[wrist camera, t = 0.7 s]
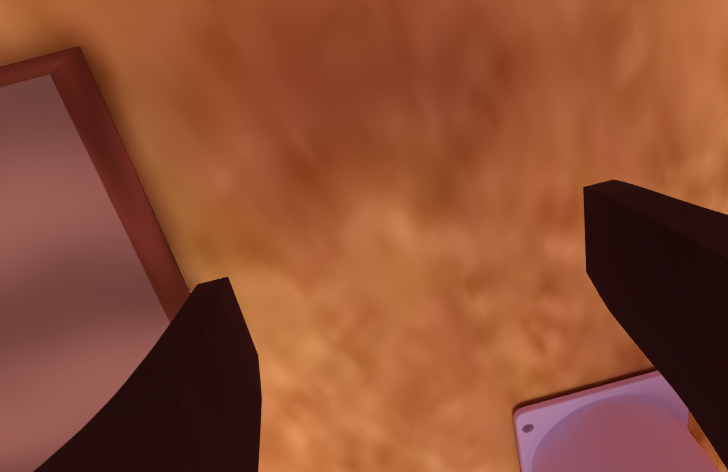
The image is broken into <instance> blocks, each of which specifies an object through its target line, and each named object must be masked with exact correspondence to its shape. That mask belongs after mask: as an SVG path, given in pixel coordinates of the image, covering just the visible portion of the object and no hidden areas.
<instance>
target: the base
mask: <svg viewBox="0 0 728 472" xmlns="http://www.w3.org/2000/svg"><path fill="white" fill-rule="evenodd" d="M189 295H190V292H189V290H188V288H187V286H186V284H185V281H184V279H183V277H182V275H181V272H180V270H179V268H178V266H177V264H176V261H175V259H174V257H173V255H172V252H171V250H170V248H169V246H168V244H167V241H166V239H165V237H164V235H163V232H162V230H161V228H160V226H159V224H158V221H157V219H156V217H155V215H154V212H153V210H152V208H151V206H150V203H149V201H148V199H147V197H146V195H145V192H144V190H143V188H142V186H141V183H140V181H139V179H138V177H137V175H136V172H135V170H134V168H133V166H132V163H131V161H130V159H129V157H128V155H127V152H126V150H125V148H124V146H123V143H122V141H121V139H120V137H119V135H118V132H117V130H116V128H115V126H114V123H113V121H112V119H111V117H110V115H109V112H108V110H107V108H106V106H105V103H104V101H103V99H102V97H101V95H100V92H99V90H98V88H97V86H96V83H95V81H94V79H93V77H92V75H91V72H90V70H89V68H88V66H87V63H86V61H85V59H84V57H83V54H82V52H81V50H80V48H79V47H76V48H72V49H68V50H64V51H61V52H57V53H53V54H49V55H45V56H42V57H38V58H34V59H30V60H26V61H23V62H19V63H15V64H11V65H7V66H4V67H0V472H33V471H35V470H36V469H37V468H38V467H39V466H41V465H42V464H43V463H44V462H45V461H46V460H47V459H48V458H50V457H51V456H52V455H53V454H54V453H55V452H56V451H57V450H59V449H60V448H61V447H62V446H63V445H64V444H65V443H66V442H67V441H69V440H70V439H71V438H72V437H73V436H74V435H75V434H76V433H78V432H79V431H80V430H81V429H82V428H83V427H84V426H85V425H86V424H87V423H88V422H89V421H90V420H91V419H92V418H93V417H94V416H95V415H96V414H97V413H98V412H99V411H100V410H101V409H102V408H103V406H104V405H105V404H106V403H107V402H108V401H109V400H110V399H111V398H112V397H113V396H114V395H115V393H116V392H117V391H118V390H119V389H120V388H121V387H122V385H123V384H124V383H125V382H126V381H127V379H128V378H129V377H130V376H131V374H132V373H133V372H134V371H135V369H136V368H137V367H138V366H139V364H140V363H141V362H142V361H143V359H144V358H145V357H146V356H147V354H148V353H149V352H150V351H151V349H152V348H153V347H154V345H155V344H156V343H157V341H158V340H159V338H160V337H161V336H162V334H163V333H164V331H165V330H166V329H167V327H168V326H169V324H170V323H171V322H172V320H173V319H174V317H175V316H176V314H177V313H178V311H179V310H180V309H181V307H182V306H183V304H184V303H185V301H186V300H187V298H188V297H189Z"/></svg>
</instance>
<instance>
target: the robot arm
mask: <svg viewBox="0 0 728 472" xmlns="http://www.w3.org/2000/svg"><path fill="white" fill-rule="evenodd" d="M583 189H584V218H585V247H586V272H587V274H588V276H589V277H590V279H591V281H592V283H593V284H594V286H595V288H596V290H597V291H598V293H599V295H600V296H601V298H602V300H603V301H604V303H605V305H606V306H607V308H608V309H609V311H610V312H611V313H612V315H613V316H614V317H615V319H616V320H617V321H618V322H619V324H620V325H621V326H622V327H623V328H624V330H625V331H626V332H627V333H628V335H629V336H630V337H631V338H632V340H633V341H634V342H635V343H636V344H637V346H638V347H639V348H640V349H641V351H642V352H643V353H644V354H645V355H646V357H647V358H648V359H649V360H650V361H651V363H652V364H653V365H654V366H655V368H656V369H657V370H658V371H654V372H650V373H647V374H643V375H639V376H635V377H632V378H628V379H624V380H621V381H617V382H613V383H610V384H606V385H602V386H599V387H595V388H591V389H587V390H584V391H580V392H576V393H573V394H569V395H565V396H562V397H558V398H554V399H551V400H547V401H543V402H540V403H536V404H532V405H528V406H525V407H522V408H519V409H518V410H517V411H516V412H515V413H514V417H513V419H514V426H515V433H516V440H517V447H518V454H519V461H520V468H521V472H720V471H719V470H718V469H717V467H716V466H715V465H714V463H713V462H712V461H711V459H710V458H709V457H708V456H707V454H706V453H705V452H704V450H703V449H702V448H701V446H700V445H699V444H698V443H697V441H696V440H695V439H694V437H693V436H692V435H691V433H690V432H689V431H688V413H689V411H690V412H691V414H692V415H693V417H694V418H695V420H696V421H697V423H698V424H699V426H700V427H701V429H702V430H703V432H704V434H705V435H706V437H707V438H708V440H709V441H710V443H711V444H712V446H713V447H714V449H715V450H716V452H717V454H718V455H719V457H720V458H721V460H722V462H723V463H724V465H725V467H726V468H727V470H728V215H726V214H723V213H720V212H716V211H713V210H710V209H707V208H703V207H700V206H697V205H694V204H691V203H688V202H685V201H682V200H679V199H676V198H673V197H670V196H667V195H664V194H661V193H658V192H655V191H652V190H648V189H645V188H642V187H639V186H636V185H633V184H629V183H626V182H622V181H617V180H610V181H606V182H602V183H598V184H594V185H590V186H586V187H583ZM261 406H262V396H261V382H260V371H259V360H258V354H257V351H256V349H255V346H254V343H253V341H252V338H251V336H250V333H249V330H248V328H247V325H246V323H245V320H244V317H243V315H242V312H241V310H240V307H239V304H238V302H237V299H236V296H235V294H234V291H233V289H232V286H231V283H230V281H229V278H228V277H225V278H221V279H217V280H213V281H209V282H205V283H201V284H198V285H197V286H196V287H195V289H194V290H193V291H192V293H191V294H190V295H189V297H188V298H187V300H186V301H185V303H184V304H183V306H182V307H181V309H180V310H179V311H178V313H177V314H176V316H175V317H174V319H173V320H172V322H171V323H170V324H169V326H168V327H167V329H166V330H165V331H164V333H163V334H162V336H161V337H160V338H159V340H158V341H157V343H156V344H155V345H154V347H153V348H152V349H151V351H150V352H149V353H148V354H147V356H146V357H145V358H144V359H143V361H142V362H141V363H140V364H139V366H138V367H137V368H136V369H135V371H134V372H133V373H132V374H131V376H130V377H129V378H128V379H127V381H126V382H125V383H124V384H123V385H122V387H121V388H120V389H119V390H118V391H117V392H116V393H115V395H114V396H113V397H112V398H111V399H110V400H109V401H108V402H107V403H106V404H105V405H104V406H103V408H102V409H101V410H100V411H99V412H98V413H97V414H96V415H95V416H94V417H93V418H92V419H91V420H90V421H89V422H88V423H87V424H86V425H85V426H84V427H83V428H82V429H81V430H80V431H79V432H78V433H76V434H75V435H74V436H73V437H72V438H71V439H70V440H69V441H67V442H66V443H65V444H64V445H63V446H62V447H61V448H60V449H59V450H57V451H56V452H55V453H54V454H53V455H52V456H51V457H50V458H48V459H47V460H46V461H45V462H44V463H43V464H42V465H41V466H39V467H38V468H37V469H36V470H35V471H33V472H258V463H259V445H260V427H261ZM527 424H528V425H527ZM525 425H526V426H525Z"/></svg>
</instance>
